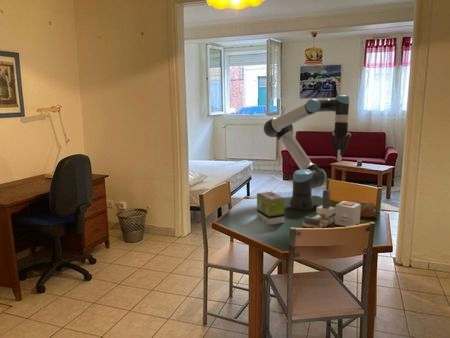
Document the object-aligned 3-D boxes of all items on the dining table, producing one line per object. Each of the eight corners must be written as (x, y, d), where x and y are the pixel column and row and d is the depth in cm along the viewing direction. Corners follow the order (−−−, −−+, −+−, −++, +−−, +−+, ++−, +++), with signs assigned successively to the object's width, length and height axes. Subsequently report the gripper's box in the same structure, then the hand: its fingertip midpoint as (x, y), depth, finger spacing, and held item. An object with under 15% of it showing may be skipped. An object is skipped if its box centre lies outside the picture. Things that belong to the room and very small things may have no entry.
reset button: (341, 208, 211) (342, 203, 210) (345, 206, 215) (345, 201, 214) (350, 210, 208) (351, 205, 207) (354, 208, 212) (354, 203, 211)
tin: (349, 215, 228) (349, 201, 227) (349, 213, 231) (350, 199, 230) (376, 217, 223) (377, 203, 221) (376, 216, 226) (377, 202, 224)
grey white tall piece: (329, 218, 213) (330, 192, 211) (316, 216, 218) (317, 190, 216) (334, 215, 219) (336, 190, 216) (321, 213, 224) (323, 188, 221)
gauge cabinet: (334, 224, 212) (335, 204, 210) (342, 219, 220) (343, 200, 218) (352, 228, 205) (353, 208, 203) (359, 223, 213) (360, 203, 211)
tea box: (256, 217, 224) (256, 192, 221) (271, 215, 228) (271, 191, 225) (268, 225, 210) (269, 199, 208) (284, 222, 214) (285, 197, 212)
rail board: (319, 229, 203) (320, 220, 202) (302, 225, 209) (302, 216, 208) (339, 218, 221) (339, 210, 220) (322, 215, 227) (323, 207, 226)
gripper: (328, 121, 233) (326, 160, 237) (349, 122, 224) (346, 162, 228) (334, 121, 238) (332, 158, 243) (354, 121, 230) (352, 161, 234)
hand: (339, 160), depth 235 cm, fingers closed
